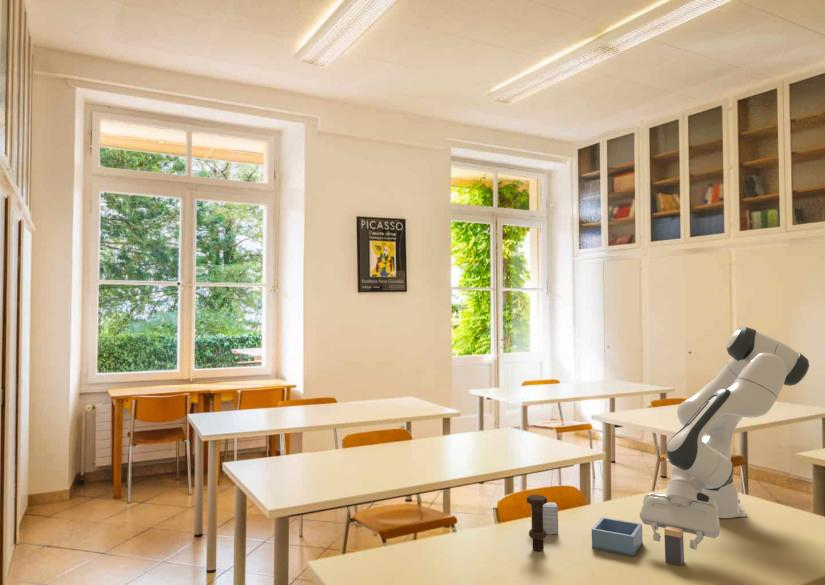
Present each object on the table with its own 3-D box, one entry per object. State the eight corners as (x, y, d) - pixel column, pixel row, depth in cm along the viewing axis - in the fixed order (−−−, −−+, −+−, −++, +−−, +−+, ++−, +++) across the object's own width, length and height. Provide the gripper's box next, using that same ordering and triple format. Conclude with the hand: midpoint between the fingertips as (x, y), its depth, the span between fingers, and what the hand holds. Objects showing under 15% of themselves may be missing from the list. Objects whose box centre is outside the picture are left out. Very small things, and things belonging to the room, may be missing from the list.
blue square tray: (602, 535, 180) (602, 517, 180) (642, 543, 174) (642, 523, 174) (592, 548, 170) (591, 529, 170) (634, 557, 164) (633, 536, 164)
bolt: (541, 555, 167) (540, 501, 167) (525, 550, 170) (524, 498, 170) (550, 548, 171) (549, 496, 172) (534, 544, 174) (533, 493, 175)
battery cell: (668, 558, 163) (667, 525, 163) (684, 562, 160) (683, 528, 160) (665, 562, 160) (664, 528, 161) (681, 566, 158) (679, 532, 158)
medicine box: (556, 530, 186) (556, 502, 186) (558, 535, 181) (558, 506, 182) (531, 529, 186) (530, 501, 187) (532, 534, 182) (532, 506, 182)
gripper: (642, 486, 173) (632, 529, 165) (719, 498, 160) (712, 547, 152) (648, 497, 176) (638, 541, 168) (724, 511, 163) (717, 558, 155)
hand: (674, 544), depth 160 cm, fingers open, 8 cm apart
